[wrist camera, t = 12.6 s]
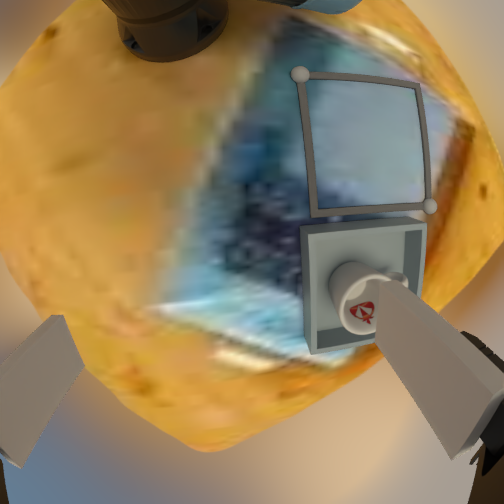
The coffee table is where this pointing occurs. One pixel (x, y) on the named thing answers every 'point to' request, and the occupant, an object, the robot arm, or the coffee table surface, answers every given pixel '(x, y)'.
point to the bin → (354, 250)
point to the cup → (359, 295)
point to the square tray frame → (301, 77)
